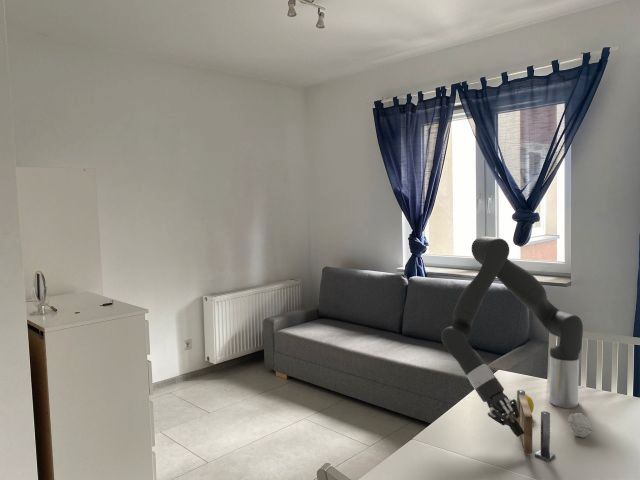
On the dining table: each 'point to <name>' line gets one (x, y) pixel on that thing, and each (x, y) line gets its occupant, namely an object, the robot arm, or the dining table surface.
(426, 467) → the dining table surface
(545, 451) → the grey upright posts
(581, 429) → the white lumpy piece
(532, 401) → the lemon
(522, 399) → the gate
